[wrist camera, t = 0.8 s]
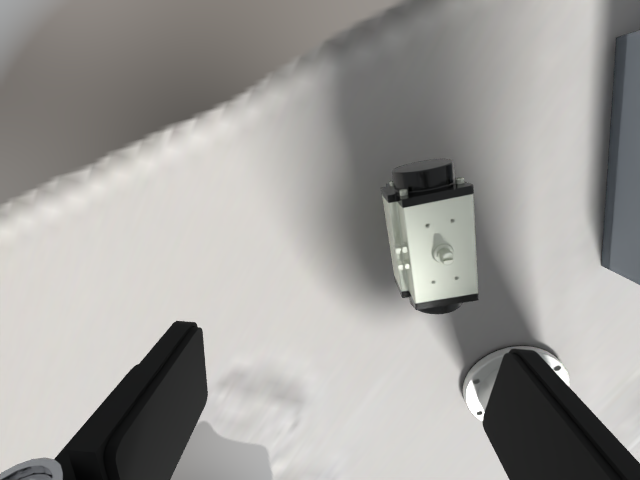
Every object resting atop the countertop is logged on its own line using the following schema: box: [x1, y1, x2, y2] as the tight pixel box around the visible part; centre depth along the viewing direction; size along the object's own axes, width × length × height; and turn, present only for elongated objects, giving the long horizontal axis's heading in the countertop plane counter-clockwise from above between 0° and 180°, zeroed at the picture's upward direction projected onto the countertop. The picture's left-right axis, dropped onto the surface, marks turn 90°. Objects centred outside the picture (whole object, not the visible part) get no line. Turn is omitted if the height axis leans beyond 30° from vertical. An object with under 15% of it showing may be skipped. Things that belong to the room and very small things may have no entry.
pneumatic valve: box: [381, 159, 478, 314], centre depth 26 cm, size 6×12×12 cm, turn 13°
